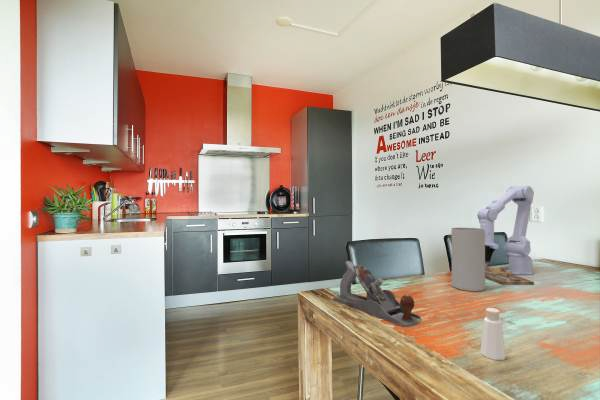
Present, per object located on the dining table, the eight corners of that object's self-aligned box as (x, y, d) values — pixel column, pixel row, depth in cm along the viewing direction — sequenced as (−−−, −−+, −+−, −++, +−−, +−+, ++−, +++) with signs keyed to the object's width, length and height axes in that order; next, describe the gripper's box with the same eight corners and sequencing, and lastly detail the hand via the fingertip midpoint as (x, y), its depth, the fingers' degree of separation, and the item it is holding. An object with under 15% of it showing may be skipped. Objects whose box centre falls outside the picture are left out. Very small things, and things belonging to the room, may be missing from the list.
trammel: (495, 271, 160) (495, 263, 160) (525, 281, 139) (525, 272, 139) (477, 271, 160) (477, 263, 160) (504, 281, 139) (504, 272, 139)
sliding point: (509, 275, 149) (509, 266, 149) (513, 276, 147) (513, 268, 147) (490, 275, 149) (490, 267, 149) (493, 276, 147) (493, 268, 147)
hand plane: (406, 329, 93) (406, 278, 93) (331, 300, 120) (331, 260, 120) (424, 322, 98) (424, 274, 98) (348, 296, 125) (348, 258, 125)
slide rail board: (501, 273, 161) (501, 270, 161) (533, 284, 139) (533, 281, 139) (474, 273, 161) (474, 270, 161) (502, 284, 139) (501, 282, 139)
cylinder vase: (482, 293, 126) (482, 230, 126) (448, 288, 133) (448, 229, 133) (487, 286, 136) (486, 228, 136) (455, 282, 143) (454, 227, 143)
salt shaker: (488, 347, 80) (488, 304, 80) (511, 357, 75) (510, 310, 75) (475, 352, 78) (474, 307, 78) (497, 362, 73) (497, 314, 73)
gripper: (470, 232, 161) (470, 258, 161) (487, 235, 146) (487, 264, 146) (484, 232, 161) (484, 258, 161) (503, 235, 146) (503, 264, 146)
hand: (487, 261), depth 154 cm, fingers closed
